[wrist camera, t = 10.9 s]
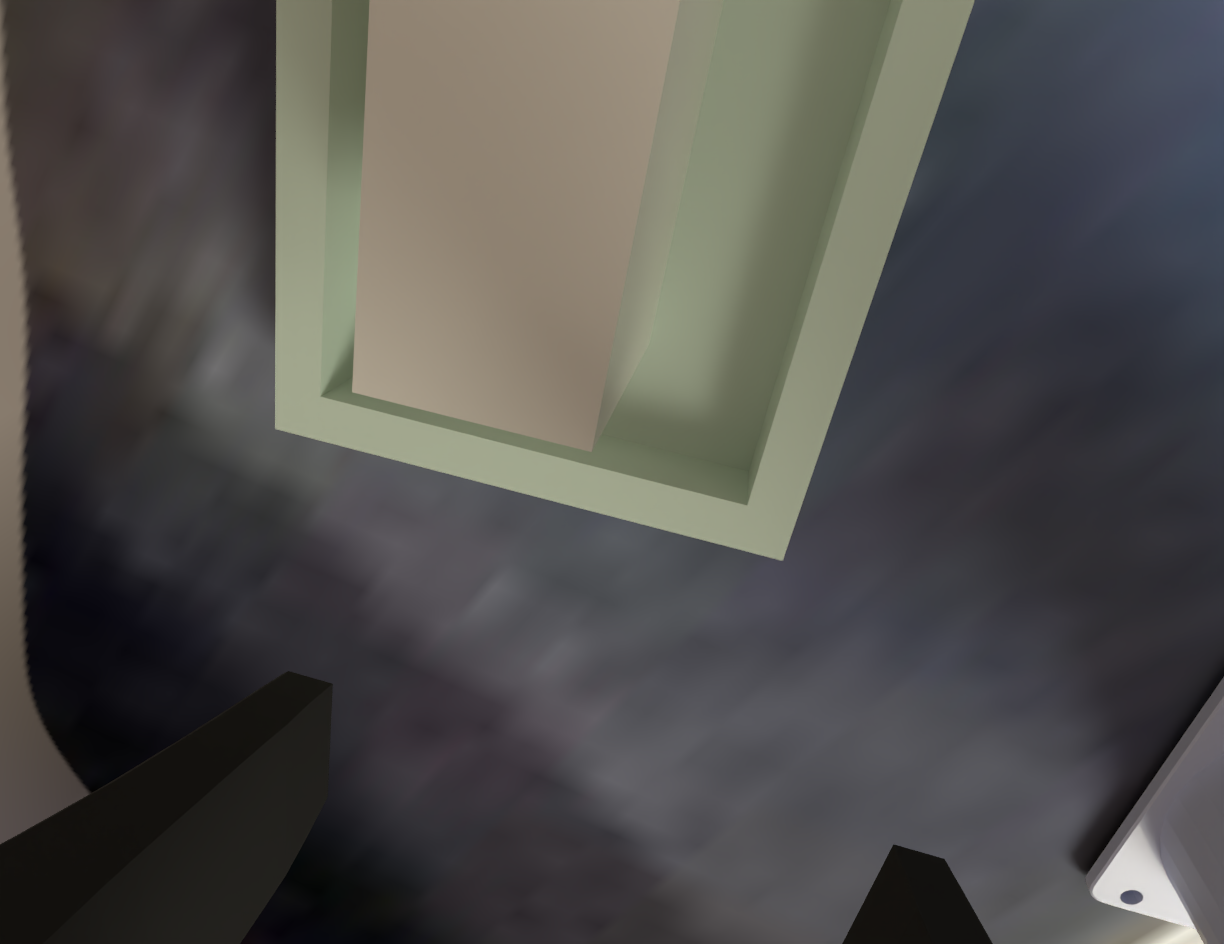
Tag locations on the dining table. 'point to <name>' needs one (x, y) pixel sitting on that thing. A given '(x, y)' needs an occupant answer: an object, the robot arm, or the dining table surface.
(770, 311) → the tray
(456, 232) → the beige rectangular block
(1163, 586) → the dining table surface
